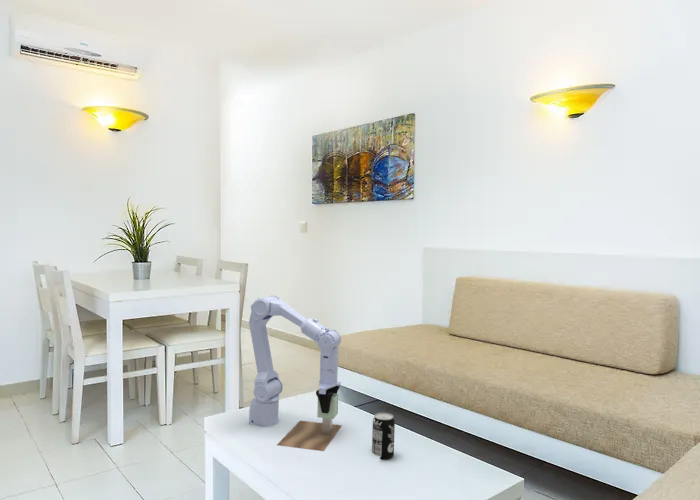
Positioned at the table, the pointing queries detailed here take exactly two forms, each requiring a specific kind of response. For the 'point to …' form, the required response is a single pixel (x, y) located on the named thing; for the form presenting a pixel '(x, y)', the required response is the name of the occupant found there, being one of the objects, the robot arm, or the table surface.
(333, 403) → the green slotted cube
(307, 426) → the board
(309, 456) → the table surface
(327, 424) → the post
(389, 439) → the beverage can
